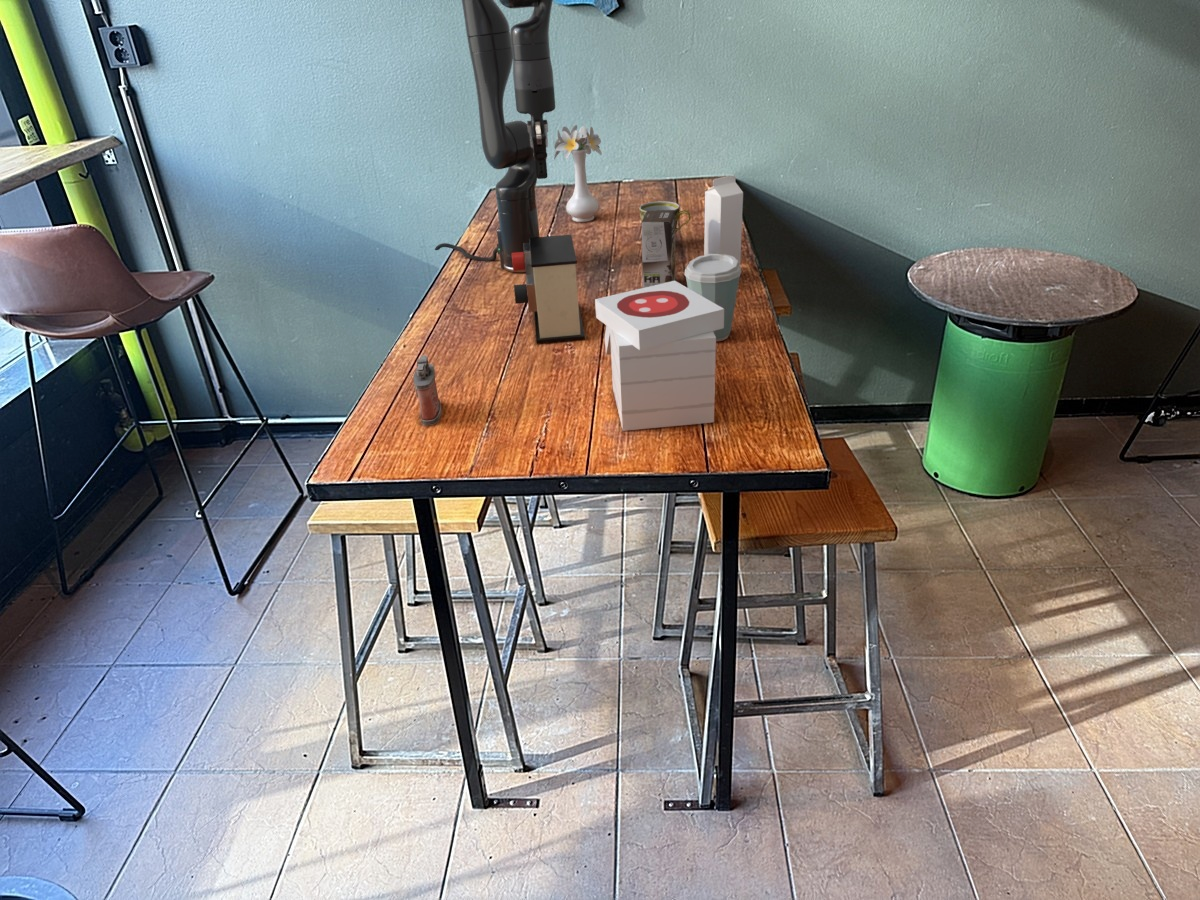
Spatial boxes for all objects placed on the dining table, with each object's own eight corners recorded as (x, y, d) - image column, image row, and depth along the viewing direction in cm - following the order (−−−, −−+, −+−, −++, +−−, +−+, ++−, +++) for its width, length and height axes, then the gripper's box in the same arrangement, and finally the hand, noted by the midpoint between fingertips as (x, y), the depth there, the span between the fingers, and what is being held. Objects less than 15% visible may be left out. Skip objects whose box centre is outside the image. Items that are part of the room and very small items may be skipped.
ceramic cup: (634, 250, 207) (633, 211, 202) (647, 238, 215) (647, 200, 210) (684, 254, 203) (684, 214, 198) (695, 242, 211) (696, 202, 205)
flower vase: (602, 208, 242) (597, 117, 229) (607, 226, 226) (602, 130, 213) (557, 211, 241) (550, 121, 228) (560, 229, 226) (552, 134, 213)
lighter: (423, 403, 144) (413, 351, 138) (443, 401, 144) (434, 349, 139) (418, 426, 137) (408, 372, 132) (439, 424, 137) (429, 370, 132)
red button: (513, 273, 166) (511, 256, 164) (513, 267, 169) (511, 250, 168) (525, 272, 166) (523, 255, 165) (525, 266, 170) (523, 249, 168)
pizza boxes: (692, 349, 157) (693, 257, 147) (728, 427, 131) (732, 322, 122) (592, 358, 156) (586, 265, 146) (609, 439, 130) (603, 333, 121)
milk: (740, 276, 189) (744, 177, 177) (718, 281, 186) (721, 182, 174) (724, 268, 193) (727, 172, 181) (702, 274, 191) (705, 176, 179)
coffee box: (671, 294, 181) (670, 221, 172) (642, 294, 182) (640, 221, 174) (676, 279, 188) (676, 209, 180) (648, 279, 190) (646, 209, 181)
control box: (532, 344, 162) (524, 266, 154) (530, 310, 177) (522, 237, 169) (585, 339, 163) (579, 261, 154) (578, 306, 178) (573, 233, 169)
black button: (515, 306, 161) (513, 288, 159) (515, 299, 164) (513, 282, 162) (528, 305, 161) (526, 287, 159) (527, 298, 164) (526, 281, 162)
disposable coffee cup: (725, 351, 155) (727, 274, 147) (674, 340, 160) (673, 266, 152) (747, 330, 163) (751, 256, 155) (698, 321, 168) (699, 249, 160)
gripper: (513, 81, 162) (522, 171, 171) (514, 91, 151) (524, 187, 160) (552, 78, 162) (558, 168, 171) (555, 88, 151) (562, 184, 160)
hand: (542, 177), depth 166 cm, fingers closed
